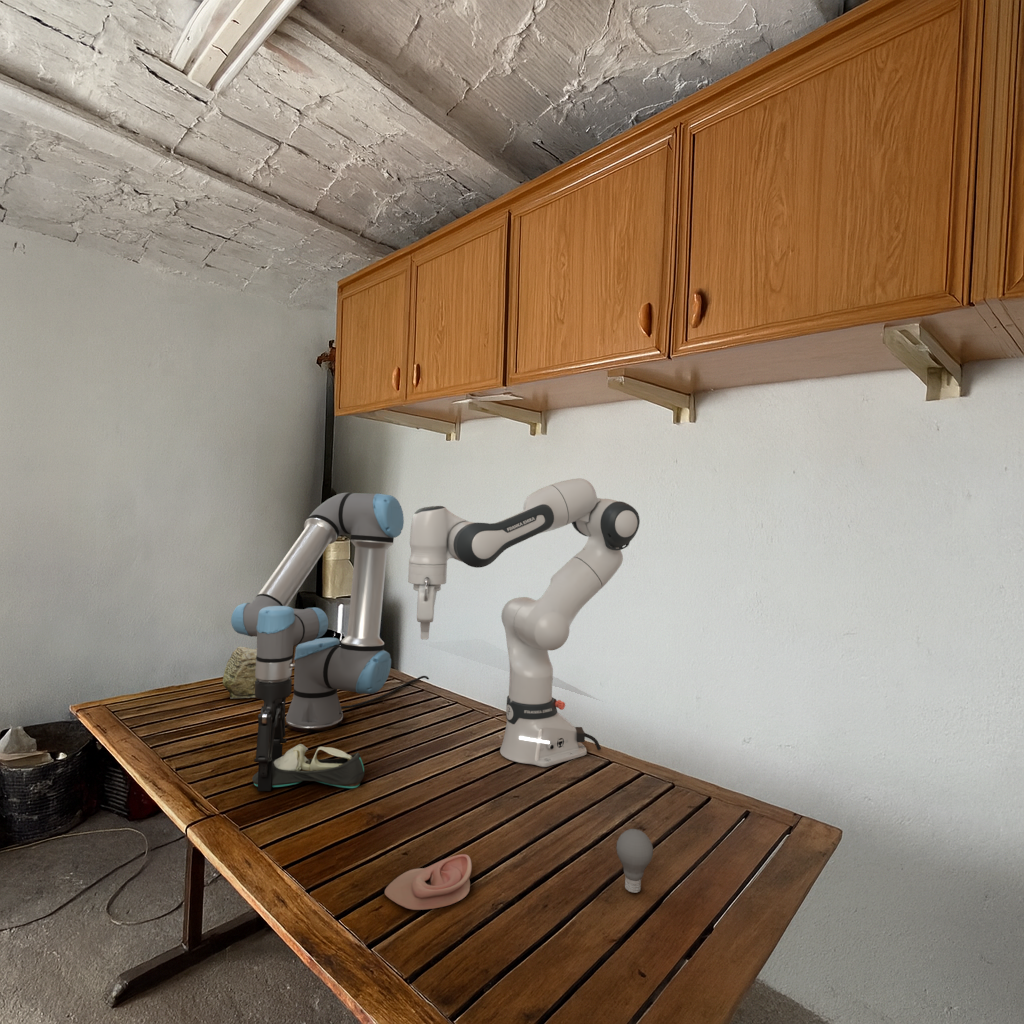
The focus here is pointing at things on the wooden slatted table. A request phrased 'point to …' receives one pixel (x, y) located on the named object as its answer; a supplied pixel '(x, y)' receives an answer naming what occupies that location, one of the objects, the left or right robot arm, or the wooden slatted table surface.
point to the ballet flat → (316, 768)
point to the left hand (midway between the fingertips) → (269, 781)
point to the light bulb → (634, 857)
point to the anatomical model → (432, 884)
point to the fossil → (241, 673)
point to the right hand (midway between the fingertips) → (425, 634)
